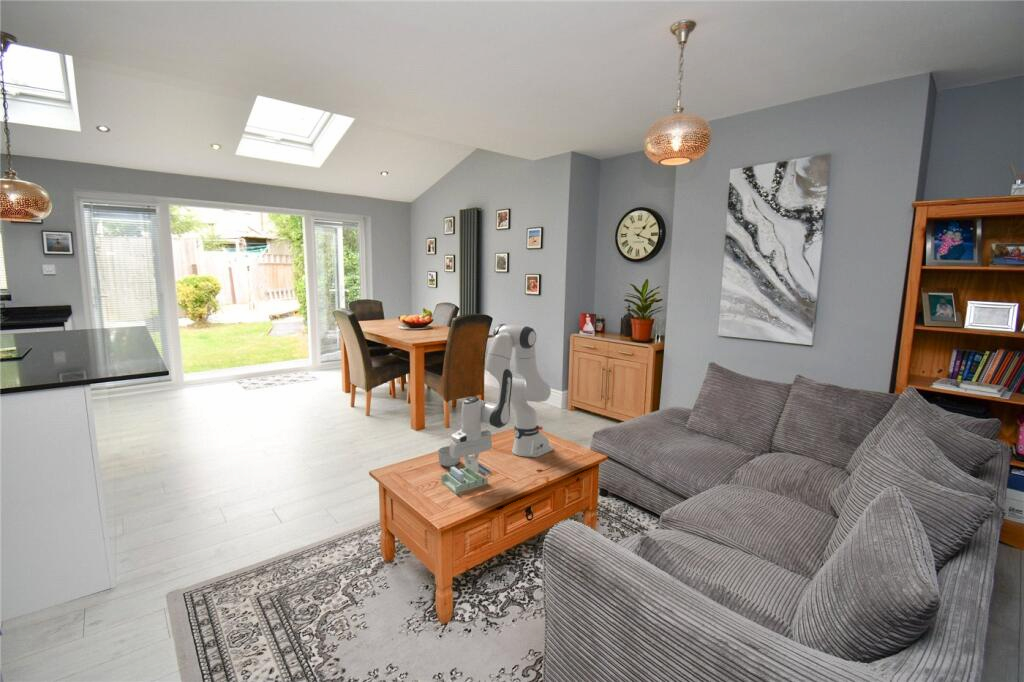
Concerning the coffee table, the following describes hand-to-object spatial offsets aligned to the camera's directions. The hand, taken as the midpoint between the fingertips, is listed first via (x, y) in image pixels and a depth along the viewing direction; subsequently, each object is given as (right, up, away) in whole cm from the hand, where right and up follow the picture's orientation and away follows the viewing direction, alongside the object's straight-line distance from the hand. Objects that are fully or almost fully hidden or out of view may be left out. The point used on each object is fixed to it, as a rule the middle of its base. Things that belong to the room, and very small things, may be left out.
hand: (471, 463), depth 204 cm
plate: (0, -3, 0) cm, 3 cm away
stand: (+3, -7, +13) cm, 15 cm away
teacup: (-12, -6, +21) cm, 25 cm away
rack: (-3, -9, -1) cm, 10 cm away
